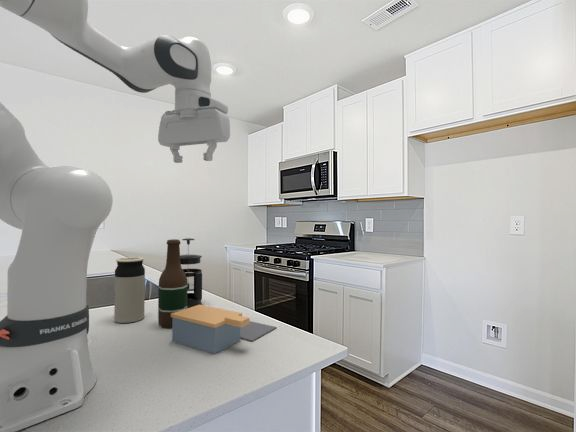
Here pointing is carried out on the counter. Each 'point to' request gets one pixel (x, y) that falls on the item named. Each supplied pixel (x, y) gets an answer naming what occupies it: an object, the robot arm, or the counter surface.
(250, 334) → the mat
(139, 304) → the travel mug
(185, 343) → the tub
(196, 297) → the french press
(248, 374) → the counter surface
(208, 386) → the counter surface
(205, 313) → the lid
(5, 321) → the robot arm
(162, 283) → the beer bottle
